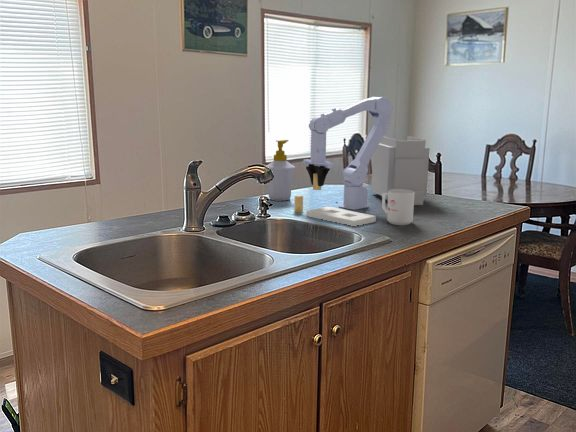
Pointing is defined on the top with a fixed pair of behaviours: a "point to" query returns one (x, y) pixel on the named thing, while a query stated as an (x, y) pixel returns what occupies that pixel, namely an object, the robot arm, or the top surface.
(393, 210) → the mug
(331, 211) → the housing
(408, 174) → the light grey angular block
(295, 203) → the peg
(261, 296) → the top surface
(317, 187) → the peg
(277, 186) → the soap bottle
